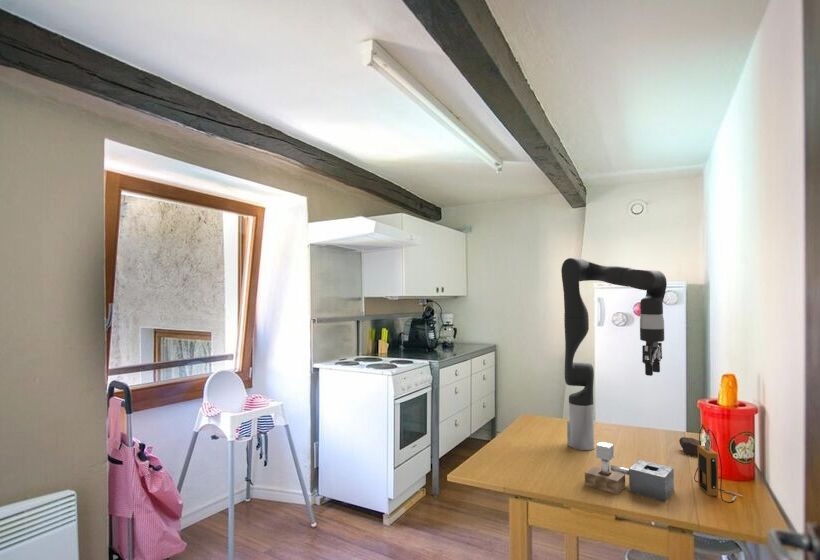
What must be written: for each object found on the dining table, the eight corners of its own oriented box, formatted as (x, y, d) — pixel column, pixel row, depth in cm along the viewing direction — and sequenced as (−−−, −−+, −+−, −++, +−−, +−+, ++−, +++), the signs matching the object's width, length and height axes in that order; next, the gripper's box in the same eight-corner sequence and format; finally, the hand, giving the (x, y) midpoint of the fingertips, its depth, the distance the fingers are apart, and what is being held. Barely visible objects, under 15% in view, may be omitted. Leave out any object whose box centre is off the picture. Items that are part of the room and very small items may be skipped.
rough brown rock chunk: (711, 441, 171) (680, 432, 177) (709, 453, 166) (677, 443, 172) (709, 453, 173) (679, 443, 179) (706, 465, 169) (676, 455, 175)
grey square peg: (610, 486, 142) (609, 447, 142) (597, 483, 144) (596, 445, 145) (614, 482, 145) (613, 444, 145) (601, 478, 147) (600, 441, 148)
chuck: (606, 485, 145) (605, 462, 145) (616, 475, 153) (616, 454, 153) (665, 501, 134) (665, 477, 134) (673, 490, 141) (673, 467, 141)
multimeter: (752, 504, 131) (751, 435, 132) (714, 502, 133) (713, 433, 134) (726, 483, 146) (725, 420, 146) (692, 481, 148) (691, 419, 148)
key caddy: (585, 485, 145) (584, 472, 145) (593, 478, 150) (593, 466, 151) (617, 494, 139) (617, 481, 139) (625, 487, 144) (625, 474, 144)
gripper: (657, 329, 151) (658, 378, 151) (669, 326, 162) (670, 372, 161) (633, 328, 156) (634, 375, 156) (646, 325, 167) (647, 369, 166)
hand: (652, 373), depth 159 cm, fingers open, 8 cm apart
